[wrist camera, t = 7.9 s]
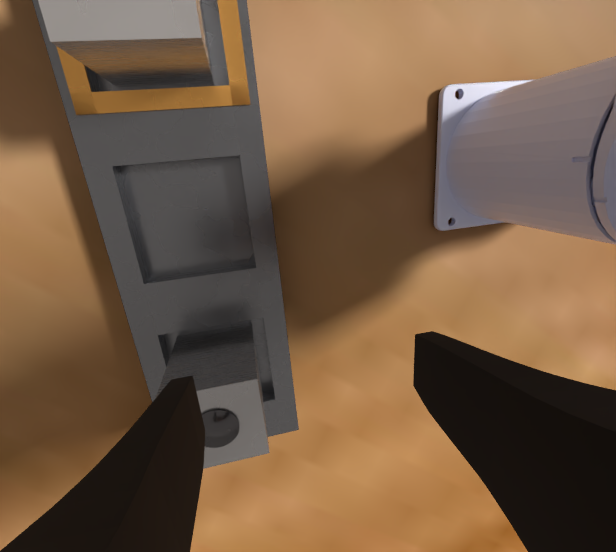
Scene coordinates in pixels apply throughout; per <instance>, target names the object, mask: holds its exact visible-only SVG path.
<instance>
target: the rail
mask: <svg viewBox="0 0 616 552" xmlns="http://www.w3.org/2000/svg"><path fill="white" fill-rule="evenodd" d="M32 1H33V4H34V8H35V11H36V14H37V18H38V21H39V24H40V28H41V31H42V35H43V38H44V41H45V45H46V48H47V51H48V55H49V58H50V61H51V65H52V68H53V71H54V75H55V78H56V81H57V85H58V88H59V91H60V95H61V98H62V101H63V105H64V108H65V112H66V115H67V118H68V122H69V125H70V128H71V132H72V135H73V138H74V142H75V145H76V148H77V152H78V155H79V158H80V162H81V165H82V168H83V172H84V175H85V179H86V182H87V185H88V189H89V192H90V195H91V199H92V202H93V205H94V209H95V212H96V215H97V219H98V222H99V225H100V229H101V232H102V235H103V239H104V242H105V245H106V249H107V252H108V256H109V259H110V262H111V266H112V269H113V272H114V276H115V279H116V282H117V286H118V289H119V292H120V296H121V299H122V302H123V306H124V309H125V312H126V316H127V319H128V323H129V326H130V329H131V333H132V336H133V339H134V343H135V346H136V349H137V353H138V356H139V359H140V363H141V366H142V369H143V373H144V376H145V379H146V383H147V386H148V389H149V393H150V396H151V400H152V402H153V401H154V400H155V398H156V395H157V393H158V390H159V387H160V384H161V381H162V378H163V375H164V373H165V370H166V367H167V364H168V361H169V358H170V355H171V353H172V350H173V347H174V344H175V341H176V338H177V336H178V335H184V334H189V333H195V332H201V331H207V330H213V329H219V328H225V327H231V326H237V325H242V324H248V323H252V328H253V334H254V340H255V346H256V353H257V359H258V365H259V371H260V378H261V385H262V393H263V402H264V410H265V419H266V428H267V436H268V437H269V436H273V435H277V434H282V433H286V432H291V431H295V430H299V428H298V420H297V412H296V404H295V395H294V387H293V379H292V371H291V362H290V354H289V346H288V338H287V329H286V321H285V313H284V305H283V296H282V288H281V280H280V272H279V263H278V255H277V247H276V239H275V230H274V222H273V214H272V206H271V197H270V189H269V181H268V173H267V164H266V156H265V148H264V140H263V131H262V123H261V115H260V107H259V98H258V90H257V82H256V74H255V65H254V57H253V49H252V41H251V32H250V24H249V16H248V8H247V0H200V1H201V7H202V14H203V20H204V26H205V33H206V39H207V45H208V51H209V58H210V64H211V70H212V76H213V82H197V83H176V84H155V85H135V86H115V85H113V84H112V83H110V82H109V81H107V80H106V79H104V78H103V77H101V76H100V75H99V74H97V73H96V72H94V71H93V70H91V69H90V68H88V67H87V66H85V65H84V64H82V63H81V62H79V61H78V60H76V59H75V58H73V57H72V56H71V55H69V54H68V53H66V52H65V51H63V50H62V49H60V48H59V47H57V46H56V45H54V44H53V43H51V42H50V39H49V36H48V33H47V29H46V26H45V22H44V19H43V16H42V12H41V9H40V5H39V2H38V0H32Z"/></svg>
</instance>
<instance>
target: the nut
mask: <svg viewBox="0 0 616 552" xmlns="http://www.w3.org/2000/svg"><path fill="white" fill-rule="evenodd" d="M187 376H193V379H194V383H195V388H196V392H197V396H198V401H199V405H200V409H201V414H202V418H203V422H204V427H205V450H204V466H203V469H204V468H208V467H212V466H217V465H221V464H225V463H229V462H233V461H238V460H242V459H246V458H250V457H254V456H259V455H263V454H267V453H269V445H268V436H267V428H266V419H265V410H264V402H263V393H262V385H261V378H260V371H259V365H258V359H257V353H256V346H255V340H254V334H253V328H252V323H248V324H242V325H237V326H231V327H225V328H219V329H213V330H207V331H201V332H195V333H189V334H184V335H178V336H177V338H176V341H175V344H174V347H173V350H172V353H171V355H170V358H169V361H168V364H167V367H166V370H165V373H164V375H163V378H162V381H161V384H160V387H159V390H158V393H157V395H156V397H157V396H158V395H159V394H160V392H161V391H162V390H163V389H164V388H165V386H166V385H167V384H168V383H169V382H170V381H171V379H176V378H182V377H187ZM155 399H156V398H155Z"/></svg>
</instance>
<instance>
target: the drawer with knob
mask: <svg viewBox="0 0 616 552" xmlns="http://www.w3.org/2000/svg"><path fill="white" fill-rule="evenodd" d="M38 2H39V5H40V9H41V12H42V16H43V19H44V22H45V26H46V29H47V33H48V36H49V39H50V42H51V43H53V44H54V45H56V46H57V47H59V48H60V49H62V50H63V51H65V52H66V53H68V54H69V55H71V56H72V57H73V58H75V59H76V60H78V61H79V62H81V63H82V64H84V65H85V66H87V67H88V68H90V69H91V70H93V71H94V72H96V73H97V74H99V75H100V76H101V77H103V78H104V79H106V80H107V81H109V82H110V83H112V84H113V85H115V86H135V85H155V84H176V83H197V82H213V76H212V70H211V64H210V58H209V51H208V45H207V39H206V33H205V26H204V20H203V14H202V7H201V1H200V0H38Z"/></svg>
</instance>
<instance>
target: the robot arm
mask: <svg viewBox="0 0 616 552" xmlns="http://www.w3.org/2000/svg"><path fill="white" fill-rule="evenodd" d="M456 91H458V92H459V98H458V99H456V97H455V92H456ZM450 218H451V219H452V221H451V223H450V224H449V225H448V220H449V219H450ZM504 222H507V223H512V224H517V225H522V226H527V227H531V228H536V229H541V230H546V231H551V232H556V233H561V234H566V235H571V236H576V237H581V238H586V239H591V240H596V241H601V242H606V243H611V244H616V56H614V57H611V58H608V59H604V60H601V61H597V62H594V63H591V64H587V65H584V66H580V67H577V68H574V69H570V70H567V71H563V72H560V73H557V74H553V75H550V76H546V77H543V78H540V79H536V80H520V81H502V82H484V83H466V84H451V85H447V86H445V87H444V88H442V89H441V91H440V94H439V109H438V133H437V157H436V182H435V206H434V226H435V228H436V229H438V230H441V231H445V230H453V229H460V228H467V227H475V226H482V225H489V224H496V223H504ZM413 386H414V387H415V389H416V391H417V393H418V394H419V396H420V398H421V400H422V401H423V403H424V405H425V406H426V408H427V409H428V411H429V413H430V414H431V415H432V417H433V418H434V419H435V421H436V422H437V423H438V424H439V426H440V427H441V428H442V430H443V431H444V432H445V433H446V435H447V436H448V437H449V439H450V440H451V441H452V442H453V444H454V445H455V446H456V447H457V449H458V450H459V451H460V452H461V454H462V455H463V456H464V458H465V459H466V460H467V461H468V463H469V464H470V465H471V466H472V468H473V469H474V470H475V472H476V473H477V474H478V476H479V477H480V478H481V480H482V481H483V482H484V484H485V485H486V487H487V488H488V489H489V491H490V492H491V494H492V496H493V497H494V499H495V500H496V502H497V503H498V505H499V506H500V508H501V509H502V511H503V512H504V514H505V515H506V517H507V519H508V520H509V522H510V523H511V525H512V526H513V528H514V530H515V531H516V533H517V535H518V536H519V538H520V539H521V541H522V543H523V544H524V546H525V547H526V549H527V551H528V552H616V390H611V389H607V388H602V387H598V386H594V385H590V384H586V383H582V382H578V381H575V380H571V379H567V378H564V377H560V376H557V375H553V374H550V373H546V372H543V371H540V370H537V369H534V368H531V367H528V366H525V365H522V364H519V363H516V362H513V361H511V360H508V359H505V358H502V357H500V356H497V355H494V354H492V353H489V352H487V351H484V350H481V349H479V348H476V347H474V346H471V345H469V344H466V343H464V342H461V341H458V340H456V339H453V338H450V337H448V336H445V335H442V334H439V333H436V332H432V331H431V332H426V333H420V334H415V355H414V385H413ZM204 450H205V427H204V422H203V418H202V414H201V409H200V405H199V401H198V396H197V392H196V388H195V383H194V379H193V376H187V377H182V378H176V379H171V381H170V382H169V383H168V384H167V385H166V386H165V388H164V389H163V390H162V391H161V392H160V394H159V395H158V396H157V397H156V399H155V400H154V401H153V402H152V404H151V405H150V406H149V407H148V408H147V410H146V411H145V412H144V413H143V414H142V416H141V417H140V418H139V419H138V420H137V421H136V423H135V424H134V425H133V426H132V427H131V429H130V430H129V431H128V432H127V433H126V434H125V435H124V436H123V437H122V439H121V440H120V441H119V442H118V443H117V444H116V445H115V446H114V447H113V448H112V449H111V450H110V451H109V453H108V454H107V455H106V456H105V457H104V458H103V459H102V460H101V461H100V462H99V463H98V464H97V465H96V466H95V467H94V468H93V469H92V470H91V471H90V472H89V473H88V474H87V475H86V476H85V477H84V478H83V479H82V480H81V481H80V482H79V483H78V484H77V485H76V486H75V487H74V488H72V489H71V490H70V491H69V492H68V493H67V494H66V495H65V496H64V497H63V498H62V499H61V500H60V501H58V502H57V503H56V504H55V505H54V506H53V507H52V508H51V509H49V510H48V511H47V512H46V513H45V514H44V515H42V516H41V517H40V518H39V519H38V520H36V521H35V522H34V523H33V524H32V525H30V526H29V527H28V528H27V529H26V530H25V531H23V532H22V533H21V534H20V535H19V536H17V537H16V538H15V539H14V540H13V541H12V542H10V543H9V544H8V545H7V546H6V547H4V548H3V549H2V550H1V551H0V552H190V547H191V541H192V535H193V529H194V523H195V517H196V510H197V504H198V498H199V492H200V485H201V479H202V473H203V466H204Z"/></svg>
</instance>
